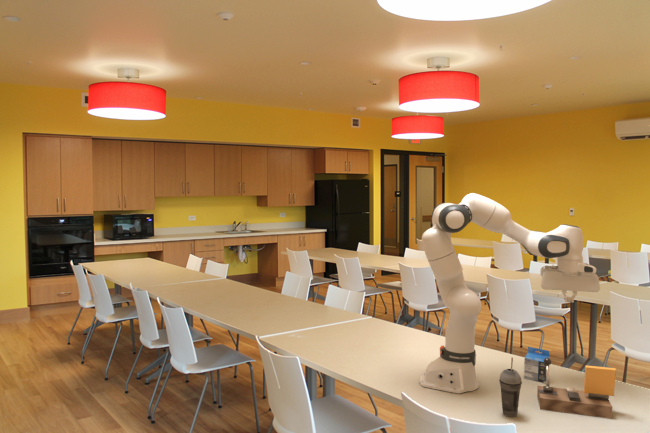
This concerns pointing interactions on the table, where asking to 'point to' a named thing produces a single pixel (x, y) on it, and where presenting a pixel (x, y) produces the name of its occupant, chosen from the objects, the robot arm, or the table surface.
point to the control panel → (573, 402)
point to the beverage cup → (510, 391)
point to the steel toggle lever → (547, 376)
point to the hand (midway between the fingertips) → (569, 302)
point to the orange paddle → (599, 381)
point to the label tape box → (535, 364)
